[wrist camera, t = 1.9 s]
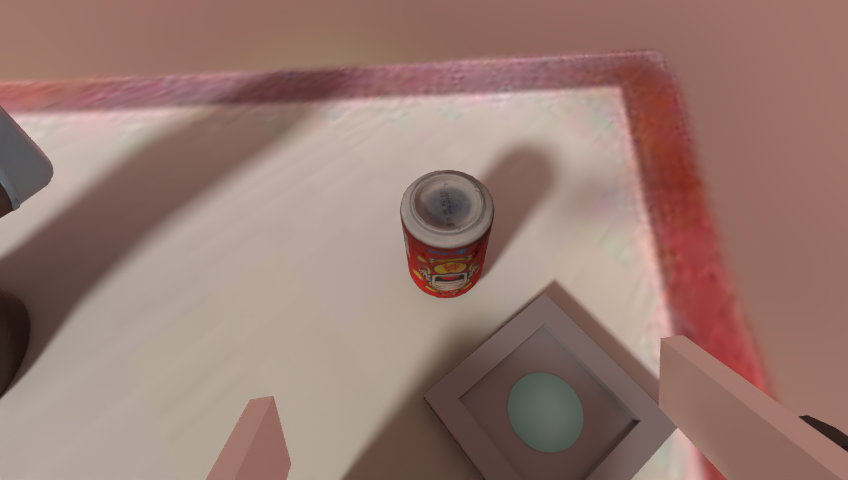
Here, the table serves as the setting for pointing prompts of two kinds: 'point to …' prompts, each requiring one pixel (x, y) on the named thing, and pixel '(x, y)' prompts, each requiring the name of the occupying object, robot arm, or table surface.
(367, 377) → the table surface
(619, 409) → the tray
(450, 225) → the soda can
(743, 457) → the robot arm
